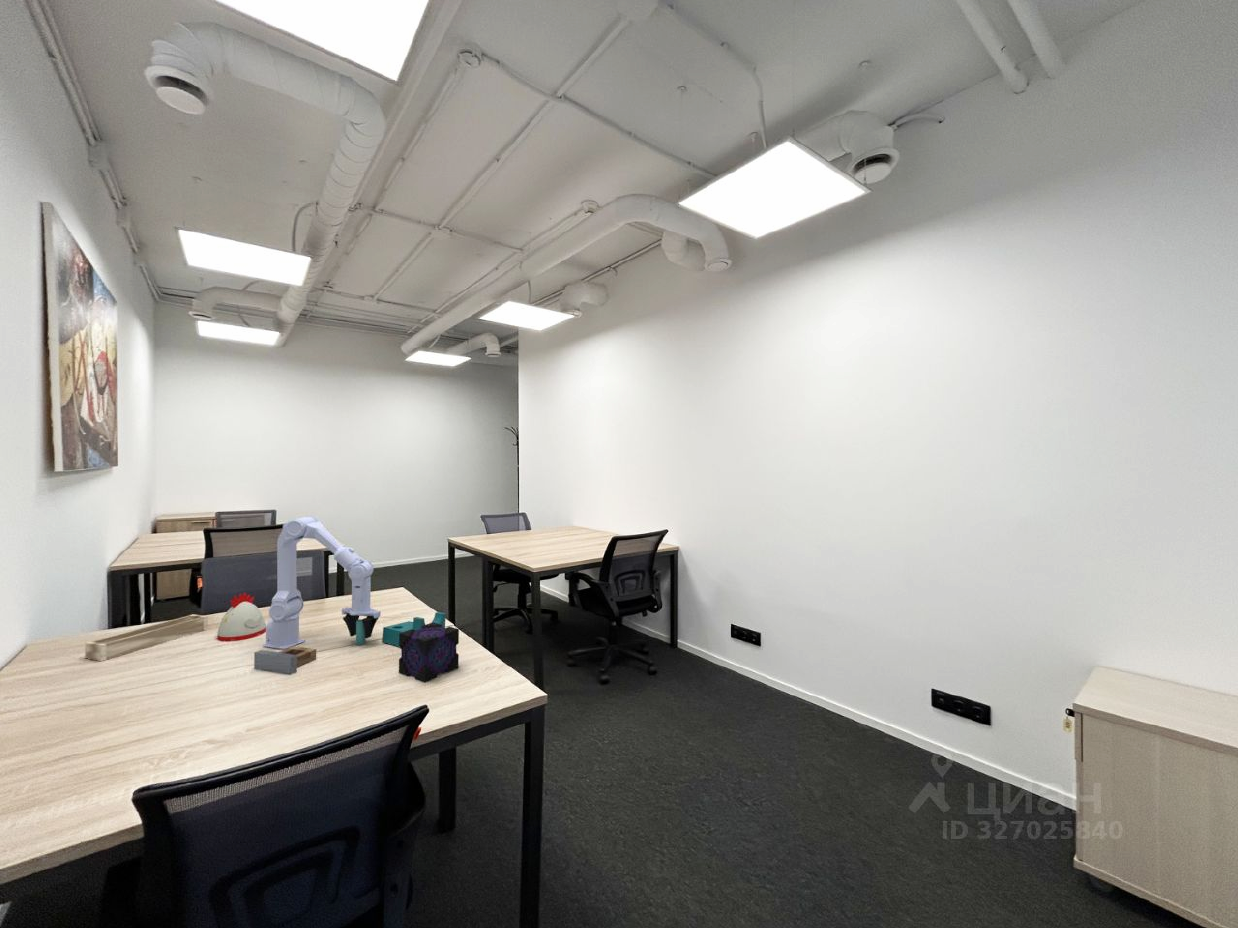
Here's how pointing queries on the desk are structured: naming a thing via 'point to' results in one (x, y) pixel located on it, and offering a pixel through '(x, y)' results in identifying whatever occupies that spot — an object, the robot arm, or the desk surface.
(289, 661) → the wall
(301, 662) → the socket block
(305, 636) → the desk surface
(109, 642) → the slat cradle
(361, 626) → the dowel
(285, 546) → the robot arm
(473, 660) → the desk surface
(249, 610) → the kitchen timer
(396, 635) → the teal l-shaped bracket
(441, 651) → the energy cube
